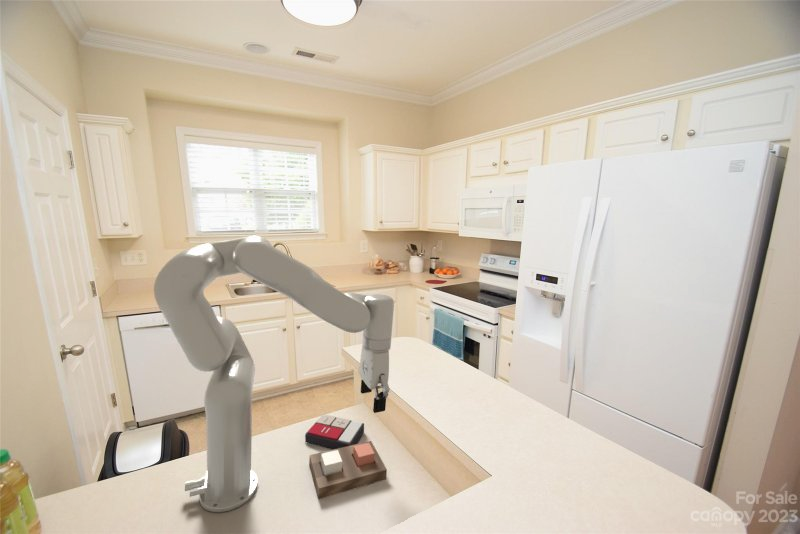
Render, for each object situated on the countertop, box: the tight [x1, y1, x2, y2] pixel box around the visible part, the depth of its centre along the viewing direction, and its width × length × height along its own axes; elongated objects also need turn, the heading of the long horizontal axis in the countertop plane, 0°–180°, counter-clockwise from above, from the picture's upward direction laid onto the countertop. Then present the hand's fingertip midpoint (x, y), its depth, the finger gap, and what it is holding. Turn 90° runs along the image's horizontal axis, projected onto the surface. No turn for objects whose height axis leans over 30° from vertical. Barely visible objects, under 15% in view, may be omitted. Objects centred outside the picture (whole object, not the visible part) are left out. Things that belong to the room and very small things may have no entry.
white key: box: [321, 450, 342, 476], centre depth 87 cm, size 4×4×4 cm
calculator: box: [304, 413, 365, 450], centre depth 103 cm, size 11×4×15 cm
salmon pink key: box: [353, 443, 375, 467], centre depth 91 cm, size 4×4×4 cm
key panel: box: [308, 440, 388, 500], centre depth 90 cm, size 18×12×3 cm, turn 115°
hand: (372, 401), depth 90 cm, fingers open, 9 cm apart
